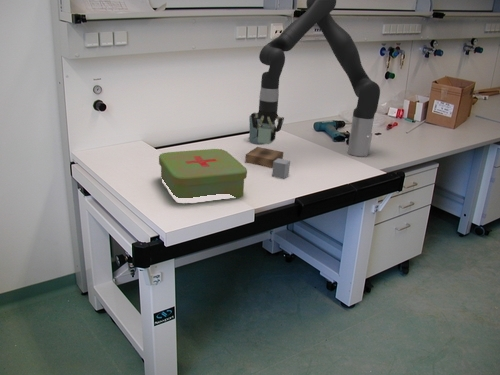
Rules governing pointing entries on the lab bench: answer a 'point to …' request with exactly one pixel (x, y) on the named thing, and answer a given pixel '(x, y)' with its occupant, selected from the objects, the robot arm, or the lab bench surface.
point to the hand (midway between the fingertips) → (265, 139)
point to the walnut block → (263, 157)
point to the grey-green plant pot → (254, 131)
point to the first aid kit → (202, 173)
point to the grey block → (281, 168)
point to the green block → (264, 135)
